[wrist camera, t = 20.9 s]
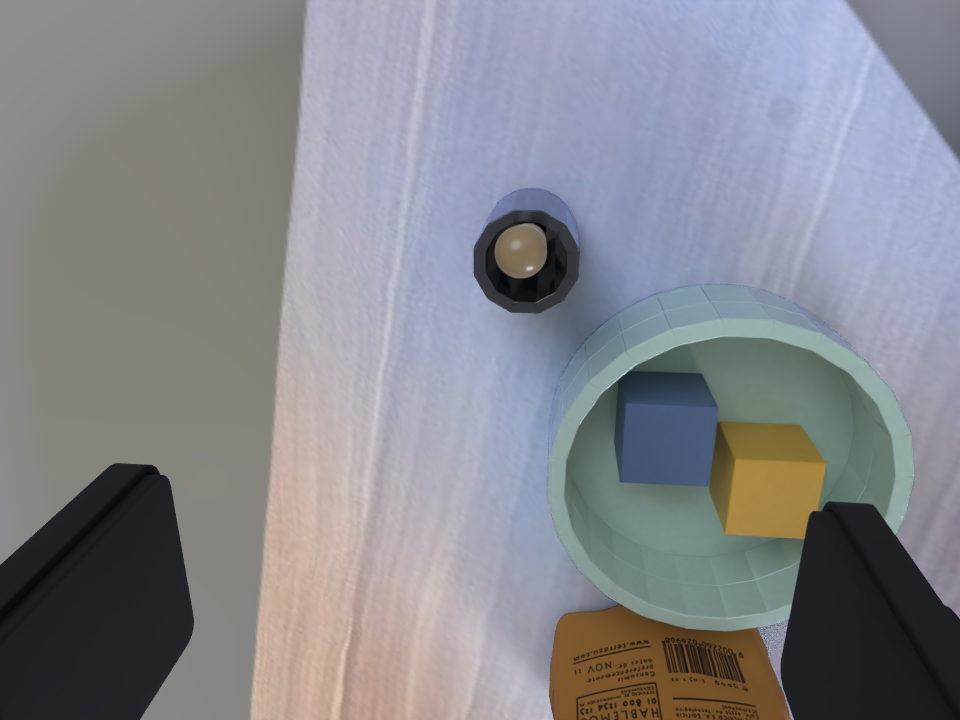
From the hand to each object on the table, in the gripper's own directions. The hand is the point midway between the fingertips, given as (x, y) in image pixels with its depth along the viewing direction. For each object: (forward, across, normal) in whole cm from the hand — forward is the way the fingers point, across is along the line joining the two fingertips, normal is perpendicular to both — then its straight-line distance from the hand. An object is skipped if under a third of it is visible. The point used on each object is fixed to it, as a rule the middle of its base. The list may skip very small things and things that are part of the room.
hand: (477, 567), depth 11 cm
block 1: (+26, -6, +9) cm, 28 cm away
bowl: (+26, -9, +11) cm, 30 cm away
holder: (+26, 0, +1) cm, 26 cm away
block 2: (+26, -11, +12) cm, 30 cm away
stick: (+26, 0, +1) cm, 26 cm away
